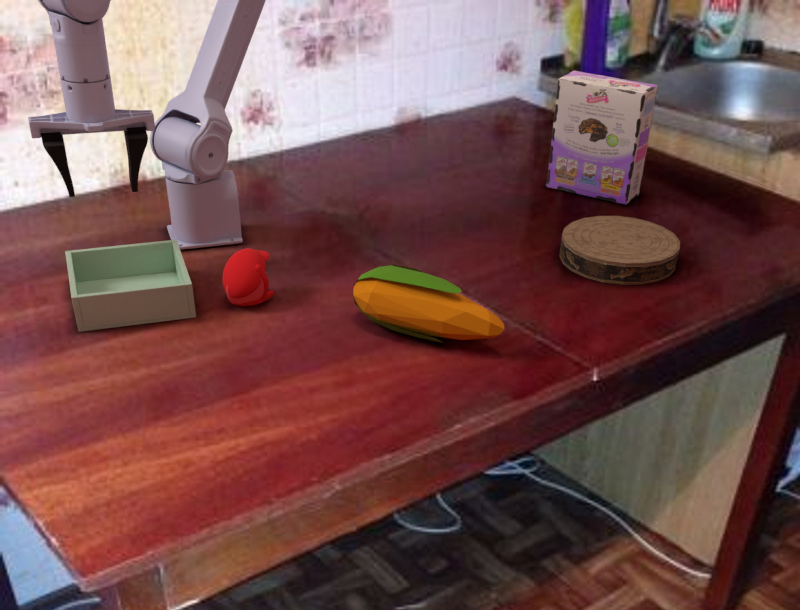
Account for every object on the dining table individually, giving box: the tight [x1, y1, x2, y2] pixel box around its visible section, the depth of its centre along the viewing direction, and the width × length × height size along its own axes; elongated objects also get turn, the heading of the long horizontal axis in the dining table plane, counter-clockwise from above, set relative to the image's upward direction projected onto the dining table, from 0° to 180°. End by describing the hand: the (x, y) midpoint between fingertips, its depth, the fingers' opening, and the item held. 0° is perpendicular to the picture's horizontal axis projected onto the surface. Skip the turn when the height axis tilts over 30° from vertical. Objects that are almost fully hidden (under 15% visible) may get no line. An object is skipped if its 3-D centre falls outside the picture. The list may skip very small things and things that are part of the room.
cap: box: [222, 247, 275, 307], centre depth 122 cm, size 8×6×6 cm
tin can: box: [558, 215, 681, 286], centre depth 135 cm, size 16×16×3 cm
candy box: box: [545, 70, 659, 206], centre depth 150 cm, size 14×6×16 cm, turn 58°
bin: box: [64, 239, 197, 333], centre depth 122 cm, size 14×13×4 cm
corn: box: [352, 264, 505, 344], centre depth 116 cm, size 7×8×20 cm
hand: (103, 191), depth 124 cm, fingers open, 7 cm apart
